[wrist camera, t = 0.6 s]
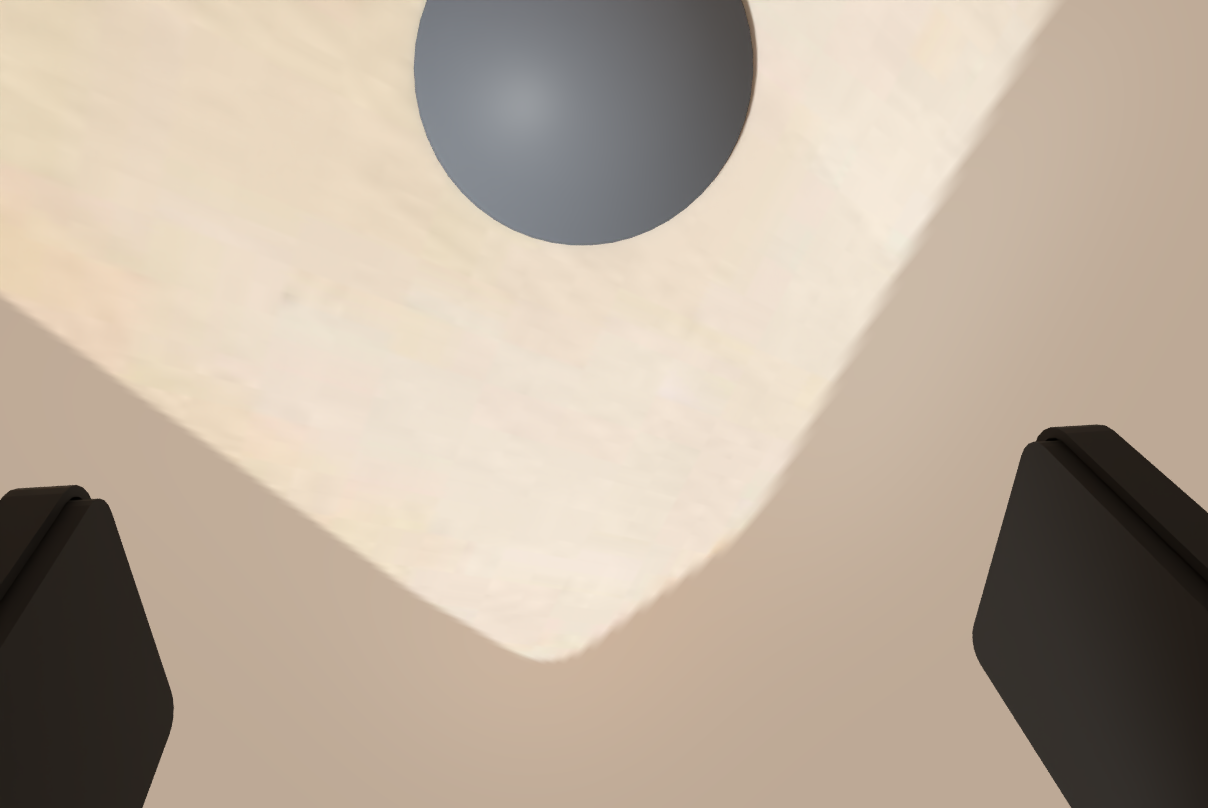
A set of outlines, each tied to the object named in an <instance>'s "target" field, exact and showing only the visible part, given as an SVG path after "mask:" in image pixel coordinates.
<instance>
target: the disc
mask: <svg viewBox="0 0 1208 808" xmlns="http://www.w3.org/2000/svg"><path fill="white" fill-rule="evenodd" d="M414 76H415V92H416V97H417V103H418V108H419V113H420V117H421V120H422V123H423V126H424V129H425V132H426V135H427V138H428V140H429V142H430V144H431V146H432V149H433V151H434V153H435V155H436V157H437V159H438V160H439V162H440V163H441V165H442V167H443V168H444V170H445V171H446V173H447V175H448V176H449V177H450V179H451V180H452V181H453V182H454V183H455V185H456V186H457V187H458V188H459V189H460V191H461V192H462V193H463V194H464V195H465V196H466V197H467V198H468V199H469V200H470V201H471V202H473V203H474V204H475V205H476V206H477V207H478V208H479V209H481V210H482V211H483V212H485V213H486V214H487V215H489V216H490V217H492V218H493V219H494V220H496V221H498V222H500V223H501V224H503V225H505V226H507V227H509V228H510V229H512V230H514V231H517V232H519V233H522V234H524V235H527V236H530V237H532V238H536V239H540V240H544V241H548V242H551V243H559V244H567V245H597V244H605V243H613V242H617V241H620V240H624V239H628V238H632V237H635V236H637V235H640V234H642V233H645V232H647V231H650V230H652V229H654V228H656V227H658V226H659V225H661V224H663V223H665V222H667V221H669V220H670V219H671V218H673V217H674V216H676V215H677V214H678V213H680V212H681V211H683V210H684V209H685V208H687V207H688V206H689V205H690V204H691V203H692V202H693V201H694V200H695V199H697V198H698V197H699V196H700V195H701V194H702V193H703V192H704V190H705V189H706V188H707V187H708V186H709V185H710V183H711V182H712V181H713V180H714V179H715V178H716V176H717V175H718V173H719V172H720V170H721V169H722V167H723V166H724V164H725V163H726V161H727V160H728V158H729V156H730V154H731V152H732V150H733V148H734V146H735V144H736V142H737V140H738V137H739V135H740V132H741V129H742V126H743V124H744V121H745V118H746V113H747V109H748V105H749V101H750V95H751V86H752V78H753V51H752V44H751V36H750V29H749V25H748V21H747V18H746V14H745V10H744V6H743V4H742V1H741V0H427V2H426V5H425V8H424V11H423V14H422V17H421V19H420V24H419V29H418V34H417V39H416V46H415V60H414Z"/></svg>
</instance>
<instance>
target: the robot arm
mask: <svg viewBox="0 0 1208 808" xmlns="http://www.w3.org/2000/svg"><path fill="white" fill-rule="evenodd" d="M972 634H973V645H974V650H975V653H976V656H977V658H978V660H979V662H980V664H981V666H982V667H983V669H984V671H985V672H986V674H987V675H988V677H989V678H990V680H991V682H992V683H993V685H994V686H995V688H996V690H997V691H998V693H999V694H1000V696H1001V697H1002V699H1003V701H1004V702H1005V704H1006V705H1007V707H1008V709H1009V710H1010V711H1011V713H1012V715H1013V716H1014V718H1015V720H1016V721H1017V723H1018V724H1019V726H1020V727H1021V729H1022V731H1023V732H1024V734H1025V735H1026V737H1027V738H1028V740H1029V742H1030V743H1031V745H1032V746H1033V748H1034V750H1035V751H1036V753H1037V754H1038V756H1039V757H1040V759H1041V761H1042V762H1043V764H1044V765H1045V767H1046V768H1047V770H1048V772H1049V773H1050V775H1051V776H1052V778H1053V780H1054V781H1055V783H1056V784H1057V786H1058V787H1059V789H1060V790H1061V792H1062V794H1063V795H1064V797H1065V798H1066V800H1067V801H1068V803H1069V805H1070V806H1071V808H1208V513H1207V512H1206V511H1205V510H1204V509H1203V508H1202V507H1201V506H1199V505H1198V504H1197V503H1196V502H1195V501H1194V500H1193V499H1191V498H1190V497H1189V496H1188V495H1187V494H1186V493H1184V492H1183V491H1182V490H1181V489H1180V488H1179V487H1178V486H1177V485H1175V484H1174V483H1173V482H1172V481H1171V480H1170V479H1169V478H1167V477H1166V476H1165V475H1164V474H1163V473H1162V472H1161V471H1159V470H1158V469H1157V468H1156V467H1155V466H1154V465H1152V464H1151V463H1150V462H1149V461H1148V460H1147V459H1146V458H1144V457H1143V456H1142V455H1141V454H1140V453H1139V452H1138V451H1136V450H1135V449H1134V448H1133V447H1132V446H1131V445H1130V444H1128V443H1127V442H1126V441H1125V440H1124V439H1123V438H1122V437H1120V436H1119V435H1118V434H1117V433H1116V432H1115V431H1113V430H1112V429H1110V428H1108V427H1107V426H1105V425H1082V426H1066V427H1050V428H1048V429H1045V430H1044V431H1043V432H1042V433H1041V434H1040V435H1039V436H1038V438H1037V440H1036V442H1032V443H1030V444H1028V445H1027V446H1026V447H1025V448H1024V451H1023V453H1022V455H1021V459H1020V462H1019V466H1018V470H1017V473H1016V477H1015V480H1014V484H1013V487H1012V491H1011V495H1010V498H1009V502H1008V505H1007V509H1006V512H1005V516H1004V520H1003V523H1002V526H1001V530H1000V534H999V537H998V541H997V544H996V548H995V551H994V555H993V559H992V563H991V566H990V569H989V573H988V576H987V580H986V584H985V587H984V590H983V594H982V598H981V601H980V605H979V608H978V612H977V615H976V619H975V622H974V626H973V633H972ZM173 709H174V707H173V697H172V693H171V690H170V686H169V683H168V680H167V677H166V674H165V672H164V668H163V665H162V662H161V659H160V656H159V653H158V650H157V647H156V644H155V642H154V638H153V635H152V632H151V629H150V626H149V623H148V620H147V617H146V614H145V611H144V608H143V605H142V602H141V599H140V596H139V593H138V590H137V587H136V584H135V581H134V578H133V575H132V572H131V570H130V566H129V563H128V560H127V557H126V554H125V551H124V548H123V545H122V542H121V539H120V536H119V533H118V530H117V527H116V524H115V521H114V518H113V515H112V512H111V510H110V508H109V505H108V504H107V503H106V502H105V501H104V500H102V499H91V498H90V496H89V494H88V493H87V491H86V490H85V489H84V488H83V487H80V486H78V485H69V486H52V487H35V488H18V489H14V490H10V491H9V492H8V493H7V494H5V495H4V496H3V497H2V499H1V500H0V808H142V807H143V805H144V802H145V799H146V796H147V793H148V791H149V788H150V786H151V783H152V780H153V777H154V775H155V772H156V769H157V767H158V764H159V761H160V758H161V755H162V753H163V750H164V747H165V745H166V742H167V739H168V737H169V734H170V730H171V727H172V721H173Z"/></svg>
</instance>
